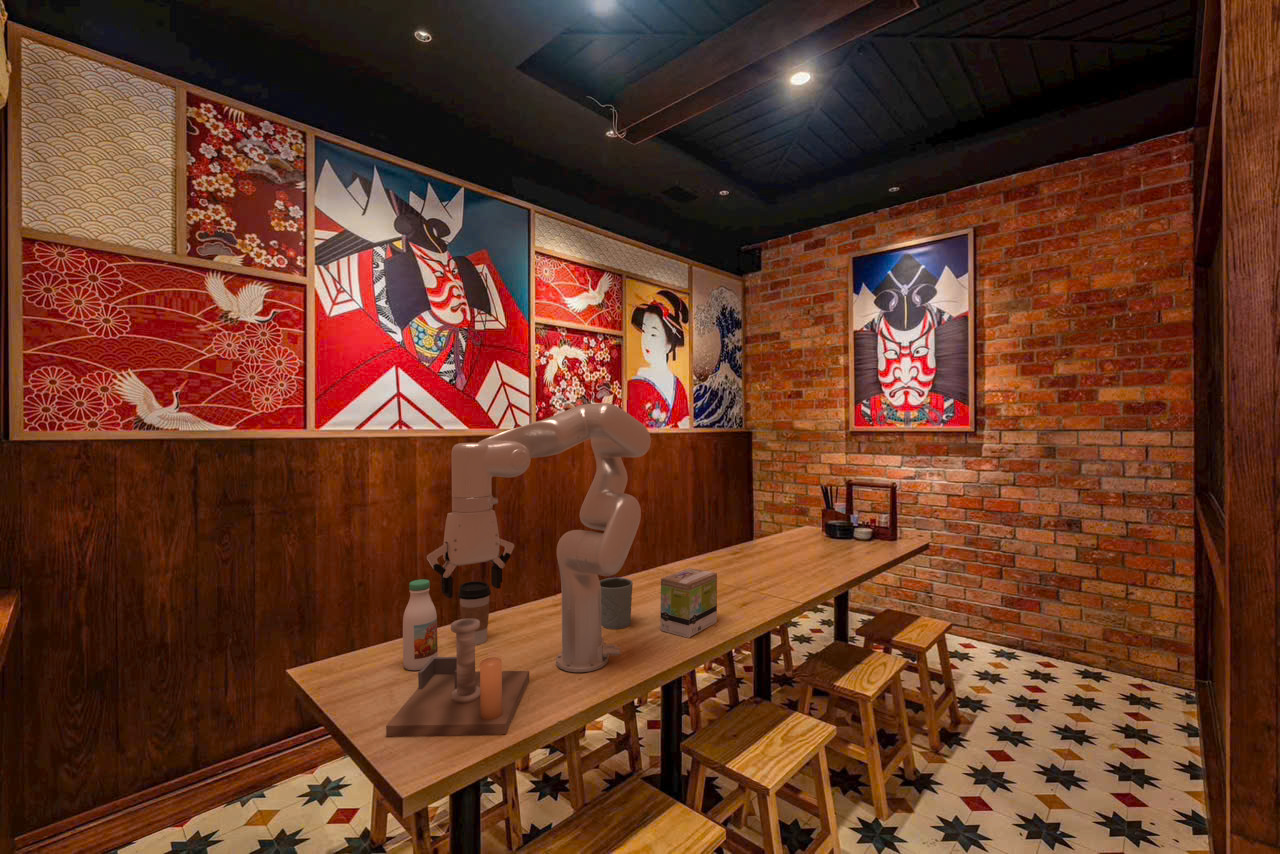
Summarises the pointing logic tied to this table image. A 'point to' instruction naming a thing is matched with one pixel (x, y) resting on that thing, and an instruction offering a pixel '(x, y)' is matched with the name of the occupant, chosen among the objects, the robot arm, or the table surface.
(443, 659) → the notch block
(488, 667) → the plug
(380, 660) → the table surface
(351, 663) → the table surface
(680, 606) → the tea box
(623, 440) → the robot arm
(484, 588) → the coffee cup
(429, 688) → the board
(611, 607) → the grey green embossed cup
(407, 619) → the milk bottle
